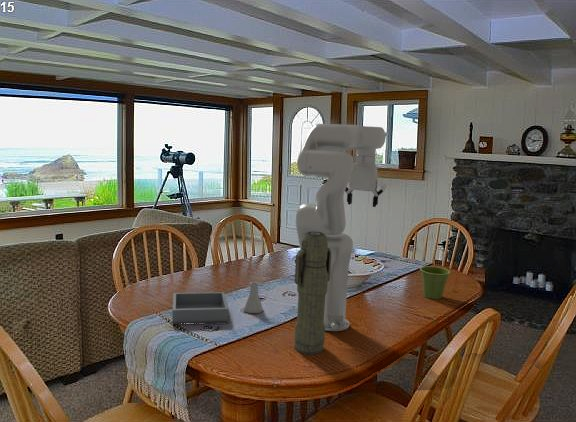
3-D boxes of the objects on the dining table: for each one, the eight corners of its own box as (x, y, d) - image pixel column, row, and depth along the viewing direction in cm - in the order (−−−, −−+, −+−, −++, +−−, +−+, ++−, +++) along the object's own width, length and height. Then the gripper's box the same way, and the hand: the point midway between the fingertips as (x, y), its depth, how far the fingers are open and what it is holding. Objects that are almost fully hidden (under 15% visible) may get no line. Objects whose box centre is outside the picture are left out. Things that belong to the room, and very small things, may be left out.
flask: (260, 315, 182) (261, 287, 180) (240, 312, 183) (241, 285, 182) (265, 308, 189) (266, 281, 187) (246, 306, 190) (247, 279, 189)
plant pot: (412, 296, 212) (414, 269, 210) (426, 290, 220) (428, 264, 219) (439, 303, 204) (441, 275, 202) (452, 297, 212) (455, 270, 211)
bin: (228, 323, 172) (228, 308, 172) (172, 325, 169) (172, 310, 168) (223, 305, 190) (224, 292, 189) (173, 306, 186) (173, 292, 185)
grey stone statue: (283, 347, 155) (289, 232, 150) (312, 338, 163) (318, 228, 158) (304, 358, 148) (310, 237, 143) (333, 348, 156) (340, 233, 151)
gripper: (340, 159, 197) (337, 204, 199) (385, 162, 191) (382, 208, 193) (345, 158, 204) (342, 202, 206) (389, 161, 197) (386, 206, 200)
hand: (361, 205), depth 200 cm, fingers open, 9 cm apart
